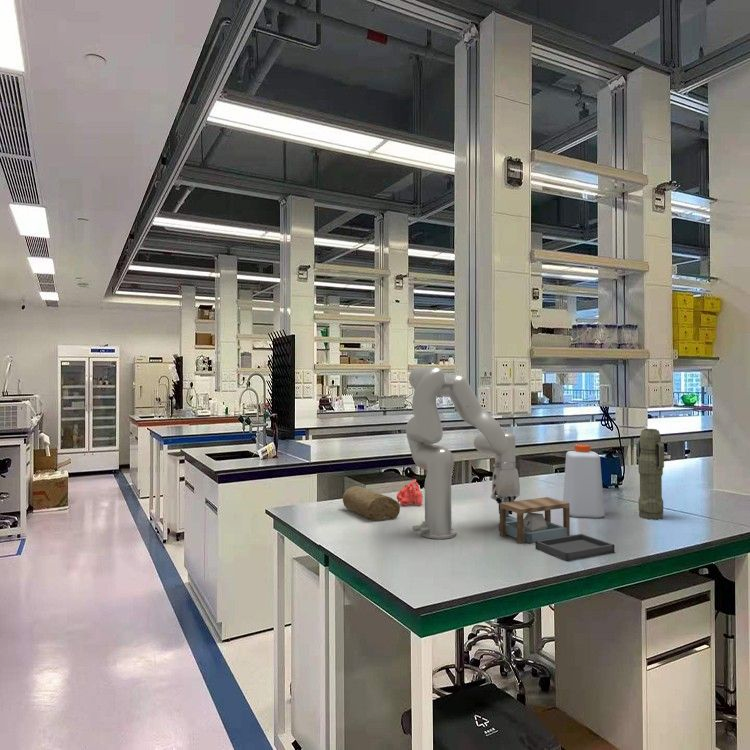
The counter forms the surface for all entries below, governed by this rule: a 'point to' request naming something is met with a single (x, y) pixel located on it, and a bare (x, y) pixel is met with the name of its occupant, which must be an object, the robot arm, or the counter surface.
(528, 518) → the grey rock
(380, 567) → the counter surface
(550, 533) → the sliding frame
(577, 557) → the tray
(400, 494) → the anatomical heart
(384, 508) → the core sample
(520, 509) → the small wooden table
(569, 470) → the plastic bottle
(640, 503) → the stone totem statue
